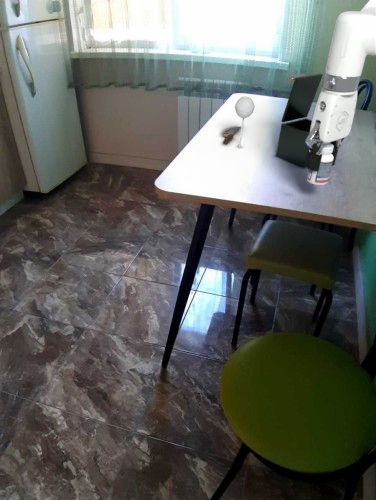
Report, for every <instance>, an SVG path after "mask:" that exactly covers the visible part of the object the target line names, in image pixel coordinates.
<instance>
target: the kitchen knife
mask: <svg viewBox="0 0 376 500" xmlns="http://www.w3.org/2000/svg"><path fill="white" fill-rule="evenodd" d="M240 129H241V126H234V127H231V128H229V129H226V130H224V131H223V132H222V136H223V137H225V138H224V140H223V144H224V145H227V144H229V143H230V142H231V141H232V140H233V139H234V135H236V133H237V132H238V131H239V130H240Z"/></svg>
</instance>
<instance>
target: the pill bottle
mask: <svg viewBox="0 0 376 500" xmlns="http://www.w3.org/2000/svg"><path fill="white" fill-rule="evenodd" d="M319 145H320V143H318V144H317V146H318V147H319ZM333 147H334V146H333V145H332V144H330V143H325V145H324V147H323V150H322V152H321V155H322V159H321V163H320V167H319V171H317V172H316V171H313V170H311V169H308V172H307V178H306V181H307V182H308V183H309V184H311V185H314V186H324V185H327V184H328V183H329V180H330V176H331V172H332V168H333V166H332V163H333V159H334V157H333V155H332V154H331V153H332V152H333Z"/></svg>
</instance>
